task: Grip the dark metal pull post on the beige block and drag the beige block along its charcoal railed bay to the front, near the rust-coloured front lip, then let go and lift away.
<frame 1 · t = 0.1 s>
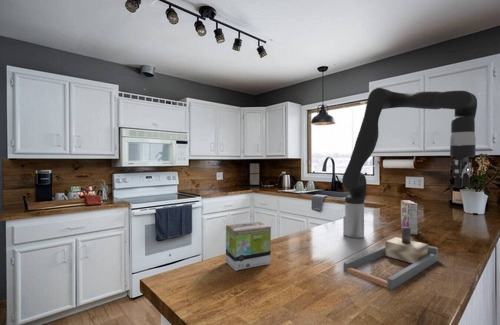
hand: (462, 187, 100), 29 cm above the countertop, tool pointing down, fingers open, 8 cm apart
candy bar box: (408, 232, 143), on the countertop
bay: (391, 266, 98), on the countertop
tea box: (248, 263, 102), on the countertop
beige block: (406, 242, 105), point 6 cm above the countertop, slide at 0.0 cm
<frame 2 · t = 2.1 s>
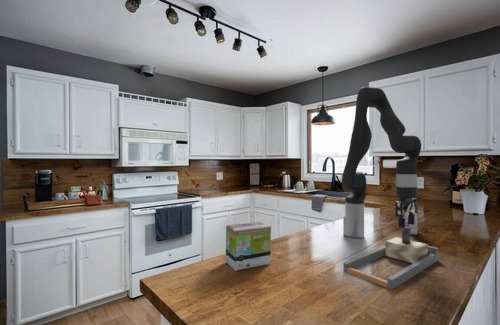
hand: (406, 225, 105), 13 cm above the countertop, tool pointing down, fingers open, 8 cm apart
nothing on the countertop moved.
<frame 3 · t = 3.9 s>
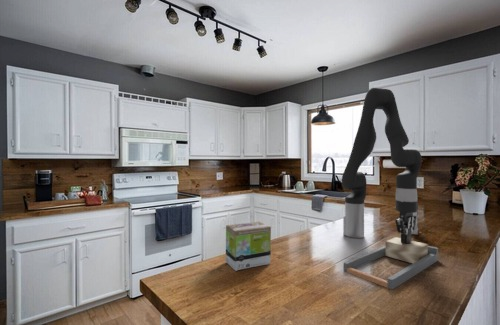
hand: (406, 242, 105), 7 cm above the countertop, tool pointing down, fingers closed on beige block, 3 cm apart
beige block: (406, 242, 105), point 6 cm above the countertop, slide at 0.0 cm, touching gripper
everything else where it was.
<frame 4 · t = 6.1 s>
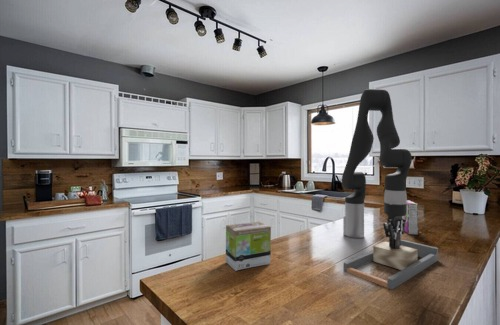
hand: (394, 247, 99), 7 cm above the countertop, tool pointing down, fingers closed on beige block, 3 cm apart
beige block: (395, 247, 100), point 6 cm above the countertop, slide at 9.5 cm, touching gripper
everything else where it was.
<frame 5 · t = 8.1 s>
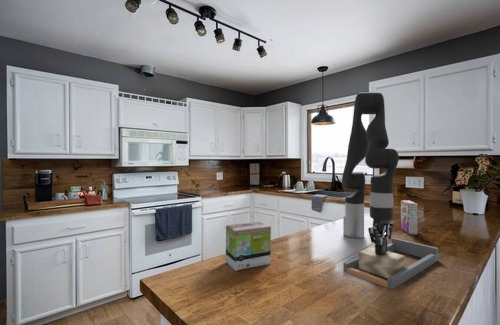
hand: (381, 253, 93), 7 cm above the countertop, tool pointing down, fingers closed on beige block, 3 cm apart
beige block: (381, 253, 93), point 6 cm above the countertop, slide at 19.9 cm, touching gripper
everything else where it was.
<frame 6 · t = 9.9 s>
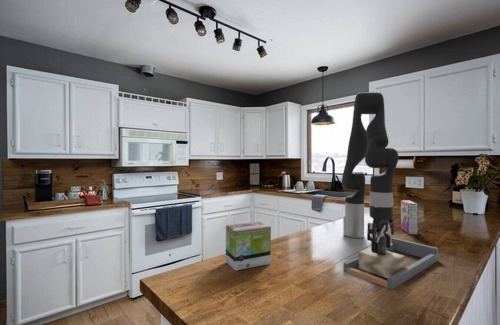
hand: (381, 249, 93), 8 cm above the countertop, tool pointing down, fingers open, 8 cm apart
beige block: (381, 253, 93), point 6 cm above the countertop, slide at 19.9 cm
everything else where it was.
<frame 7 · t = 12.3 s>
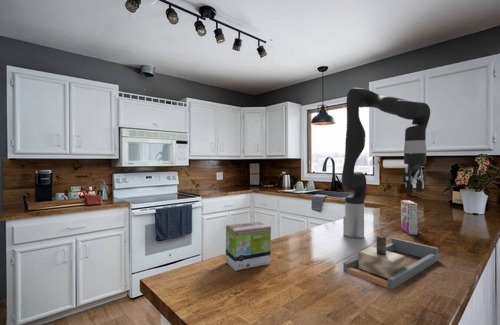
hand: (414, 192, 105), 26 cm above the countertop, tool pointing down, fingers open, 8 cm apart
nothing on the countertop moved.
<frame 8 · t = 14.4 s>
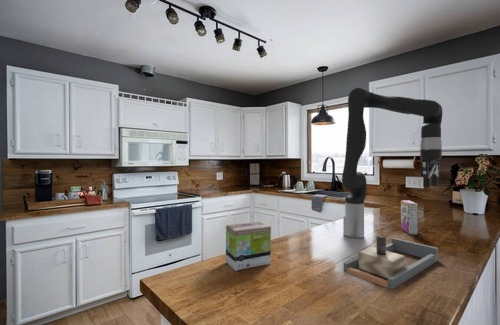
hand: (430, 186, 112), 28 cm above the countertop, tool pointing down, fingers open, 8 cm apart
nothing on the countertop moved.
at the end: beige block slide at 19.9 cm; the gripper is holding nothing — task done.
